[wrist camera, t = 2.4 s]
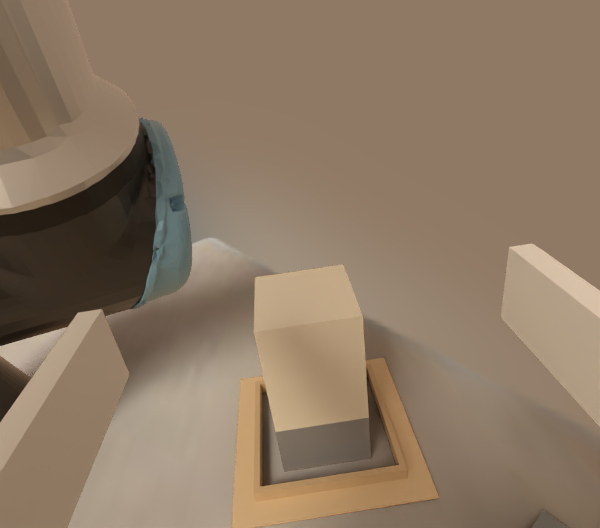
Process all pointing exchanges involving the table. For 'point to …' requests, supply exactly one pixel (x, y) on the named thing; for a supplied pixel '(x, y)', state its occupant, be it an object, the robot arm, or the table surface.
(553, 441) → the table surface
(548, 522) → the slate board
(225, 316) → the table surface
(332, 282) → the beige and grey block
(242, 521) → the tan square frame
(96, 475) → the table surface
